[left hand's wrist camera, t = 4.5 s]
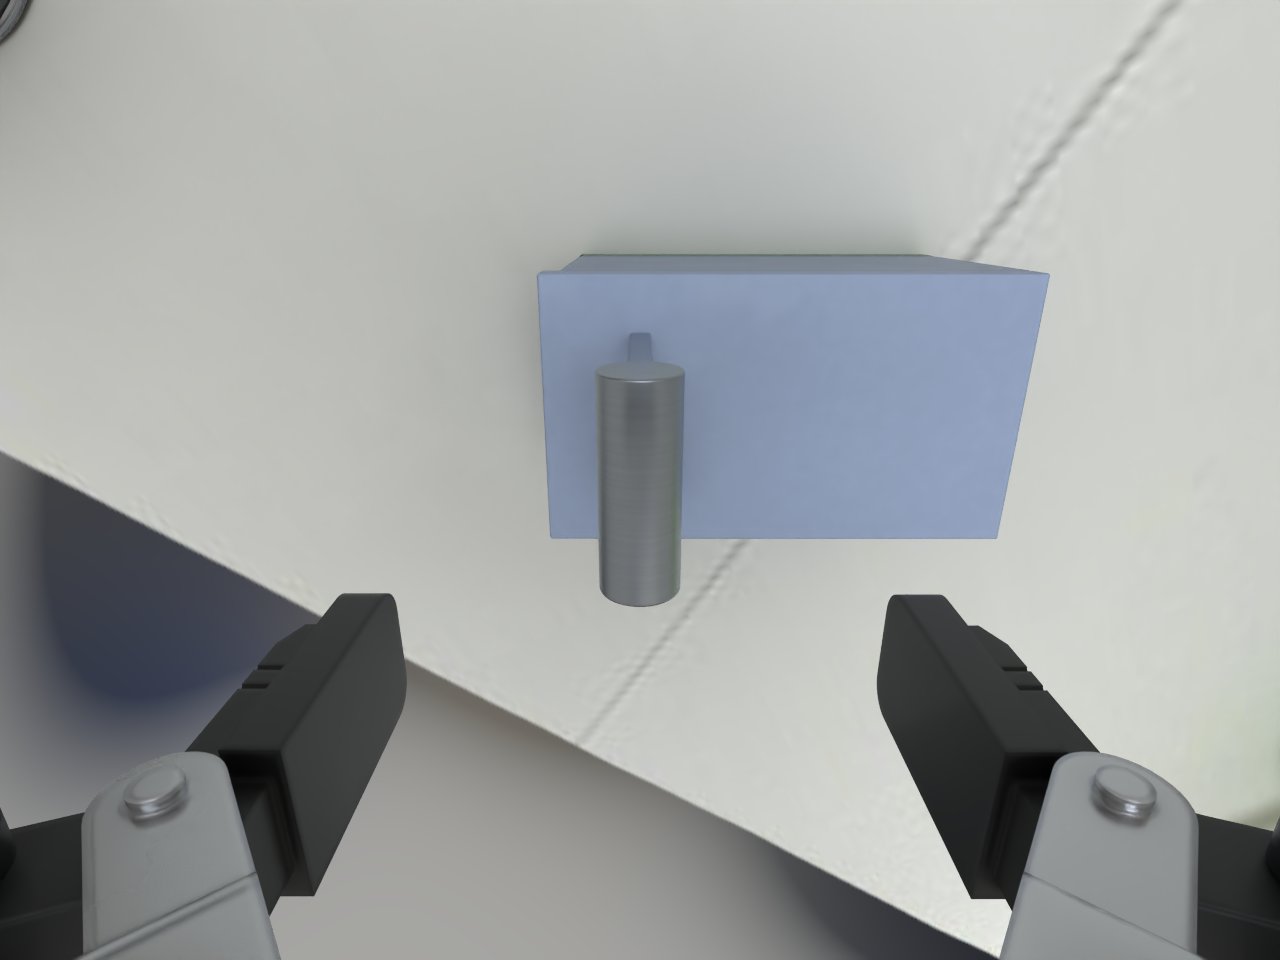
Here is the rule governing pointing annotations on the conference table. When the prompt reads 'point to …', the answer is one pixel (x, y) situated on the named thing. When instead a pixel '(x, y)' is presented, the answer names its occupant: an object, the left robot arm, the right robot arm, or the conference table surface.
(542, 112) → the conference table surface
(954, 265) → the chest
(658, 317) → the lid
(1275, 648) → the conference table surface
